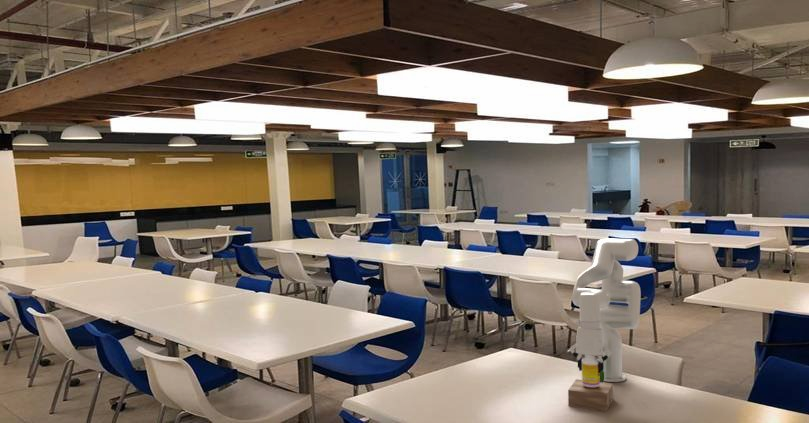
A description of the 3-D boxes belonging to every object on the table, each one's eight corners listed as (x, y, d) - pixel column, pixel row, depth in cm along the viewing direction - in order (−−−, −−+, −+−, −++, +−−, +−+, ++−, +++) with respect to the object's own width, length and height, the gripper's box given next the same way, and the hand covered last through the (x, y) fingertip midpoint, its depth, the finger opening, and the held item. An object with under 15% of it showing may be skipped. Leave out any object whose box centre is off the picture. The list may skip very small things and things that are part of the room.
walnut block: (576, 394, 247) (576, 379, 246) (612, 398, 240) (612, 383, 240) (568, 405, 234) (568, 390, 234) (606, 411, 228) (606, 395, 228)
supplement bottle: (600, 388, 233) (600, 354, 233) (582, 387, 235) (582, 354, 234) (598, 382, 240) (598, 350, 239) (581, 382, 241) (580, 349, 240)
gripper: (564, 325, 237) (565, 371, 238) (612, 328, 229) (612, 376, 230) (569, 320, 243) (569, 365, 244) (615, 324, 235) (615, 370, 236)
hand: (590, 370), depth 237 cm, fingers closed on supplement bottle, 6 cm apart
